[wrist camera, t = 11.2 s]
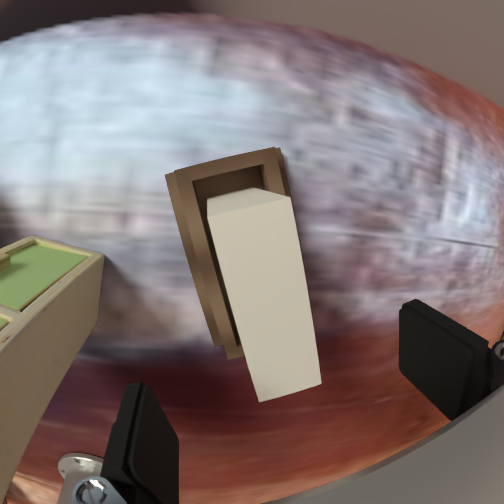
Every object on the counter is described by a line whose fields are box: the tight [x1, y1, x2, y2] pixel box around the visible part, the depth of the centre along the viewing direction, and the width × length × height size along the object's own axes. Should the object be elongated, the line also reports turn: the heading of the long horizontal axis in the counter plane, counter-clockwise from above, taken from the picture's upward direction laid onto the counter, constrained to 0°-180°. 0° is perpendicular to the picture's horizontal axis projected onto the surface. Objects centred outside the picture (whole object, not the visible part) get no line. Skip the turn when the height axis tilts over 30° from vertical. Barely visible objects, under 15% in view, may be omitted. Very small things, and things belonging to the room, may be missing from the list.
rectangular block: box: [207, 187, 322, 402], centre depth 19 cm, size 10×4×11 cm, turn 13°
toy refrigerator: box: [0, 236, 105, 504], centre depth 13 cm, size 8×7×21 cm
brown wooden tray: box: [165, 147, 313, 360], centre depth 24 cm, size 15×9×4 cm, turn 13°
